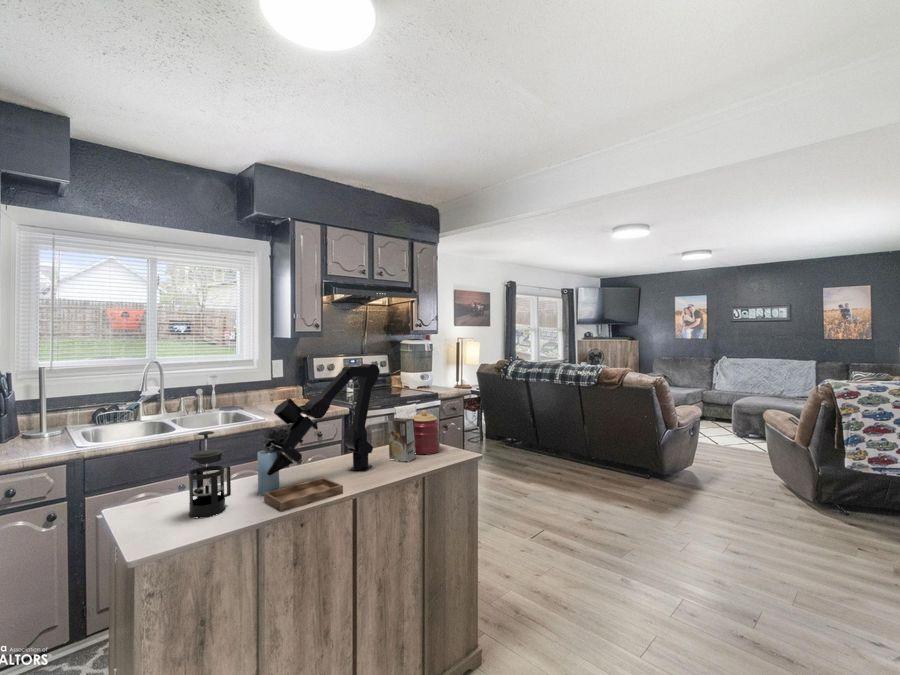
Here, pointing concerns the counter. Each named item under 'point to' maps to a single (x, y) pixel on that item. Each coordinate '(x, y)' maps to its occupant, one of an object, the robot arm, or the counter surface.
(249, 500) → the counter surface
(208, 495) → the french press
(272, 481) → the cup
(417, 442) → the canister
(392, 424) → the coffee box
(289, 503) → the tray
